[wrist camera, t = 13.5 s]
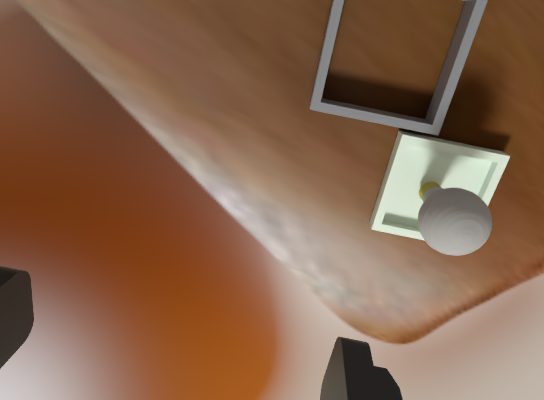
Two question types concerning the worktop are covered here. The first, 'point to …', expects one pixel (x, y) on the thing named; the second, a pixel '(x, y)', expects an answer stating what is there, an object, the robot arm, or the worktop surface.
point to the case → (444, 87)
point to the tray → (431, 178)
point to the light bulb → (453, 219)
